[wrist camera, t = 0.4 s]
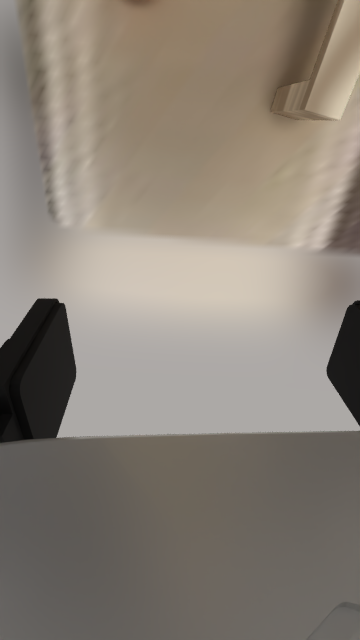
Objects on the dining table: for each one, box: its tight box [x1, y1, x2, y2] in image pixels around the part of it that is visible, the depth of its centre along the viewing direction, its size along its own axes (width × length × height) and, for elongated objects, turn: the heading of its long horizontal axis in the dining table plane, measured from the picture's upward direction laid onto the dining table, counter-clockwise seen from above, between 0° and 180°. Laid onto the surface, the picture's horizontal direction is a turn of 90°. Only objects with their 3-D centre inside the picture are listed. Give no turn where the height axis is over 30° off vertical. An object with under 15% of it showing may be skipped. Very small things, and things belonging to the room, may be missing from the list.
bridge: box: [270, 0, 360, 120], centre depth 25 cm, size 3×14×9 cm, turn 167°
